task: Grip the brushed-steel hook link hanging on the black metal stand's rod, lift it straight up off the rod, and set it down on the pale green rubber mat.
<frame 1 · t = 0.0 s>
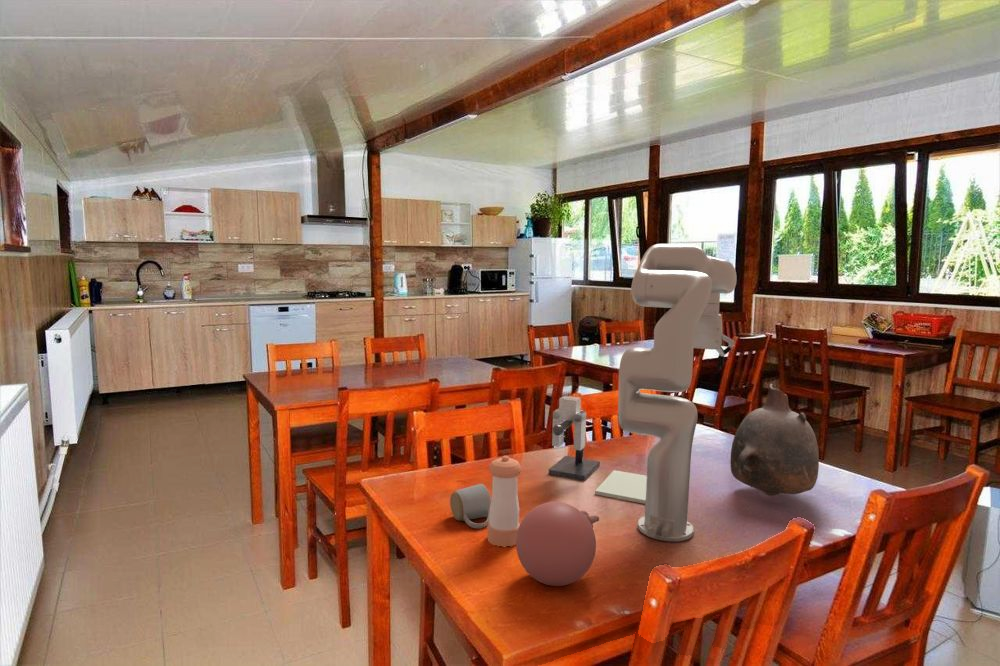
hand: (701, 367, 179), 31 cm above the table, tool pointing down, fingers open, 9 cm apart
ceramic mug: (473, 520, 147), on the table
salt shaker: (503, 540, 137), on the table
jug: (770, 496, 165), on the table
balloon: (563, 577, 121), on the table
hook link: (568, 446, 175), point 9 cm above the table, touching stand
mat: (636, 489, 168), on the table
stand: (572, 472, 180), on the table
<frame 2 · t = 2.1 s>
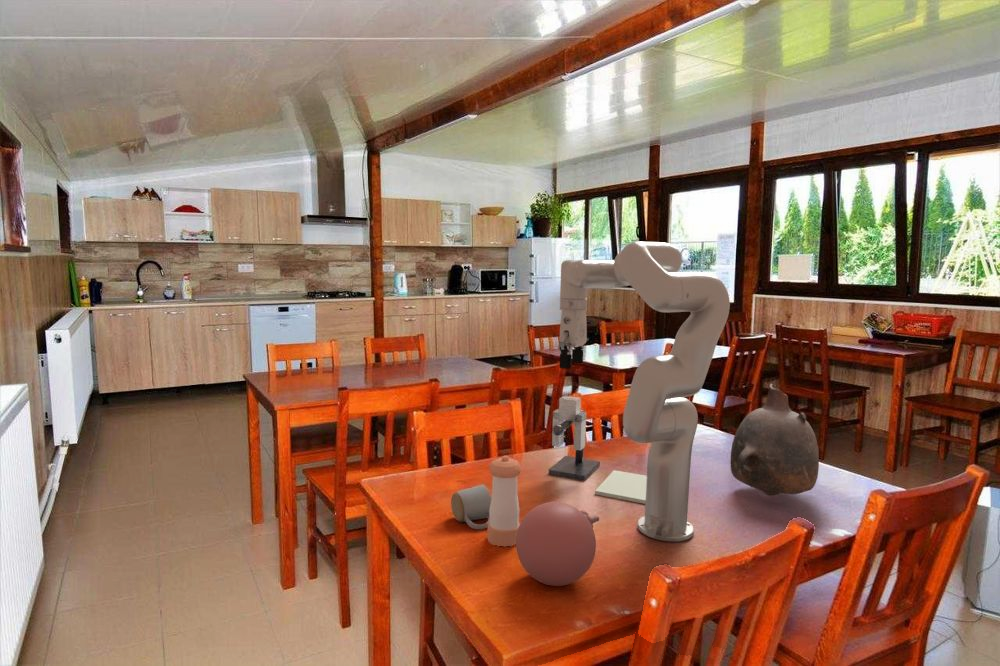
hand: (571, 365, 172), 32 cm above the table, tool pointing down, fingers open, 9 cm apart
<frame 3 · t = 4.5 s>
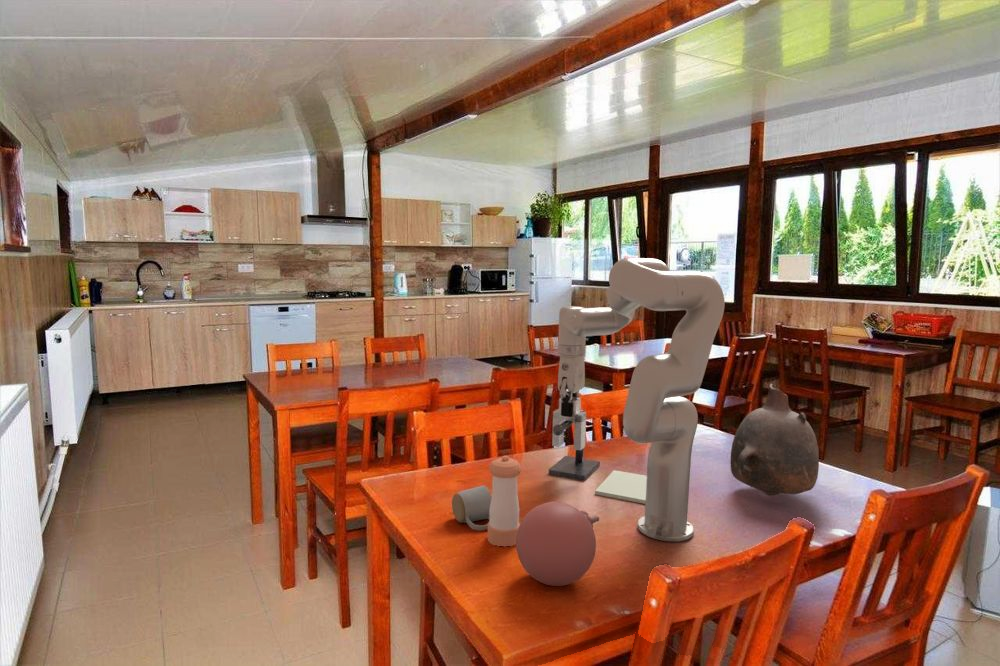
hand: (569, 413, 174), 19 cm above the table, tool pointing down, fingers closed on hook link, 4 cm apart
hook link: (568, 446, 175), point 9 cm above the table, touching gripper, stand
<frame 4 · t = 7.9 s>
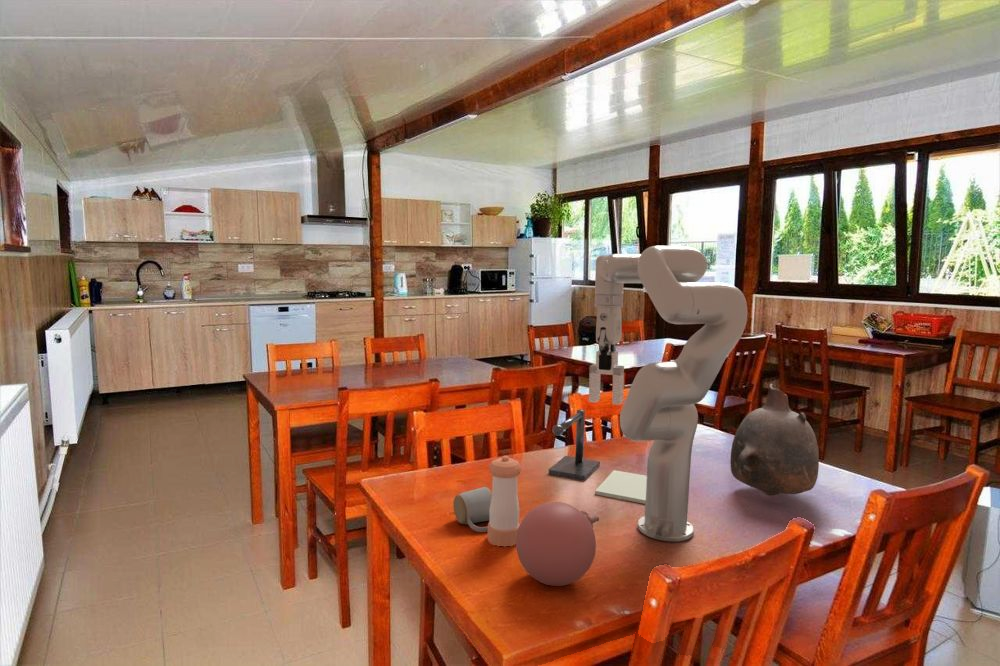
hand: (607, 367, 168), 33 cm above the table, tool pointing down, fingers closed on hook link, 4 cm apart
hook link: (605, 401, 169), point 23 cm above the table, touching gripper
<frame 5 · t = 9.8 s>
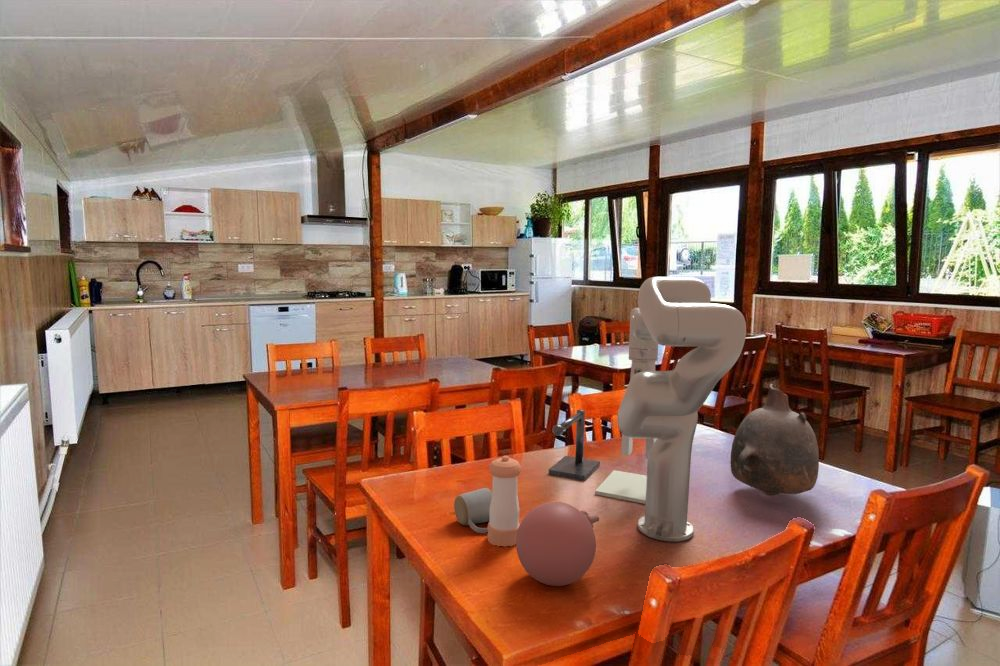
hand: (640, 420, 165), 19 cm above the table, tool pointing down, fingers closed on hook link, 4 cm apart
hook link: (638, 454, 166), point 10 cm above the table, touching gripper
when the fingers open (12 cm above the table, at t = 11.6 s): hook link drops 2 cm, resting on mat.
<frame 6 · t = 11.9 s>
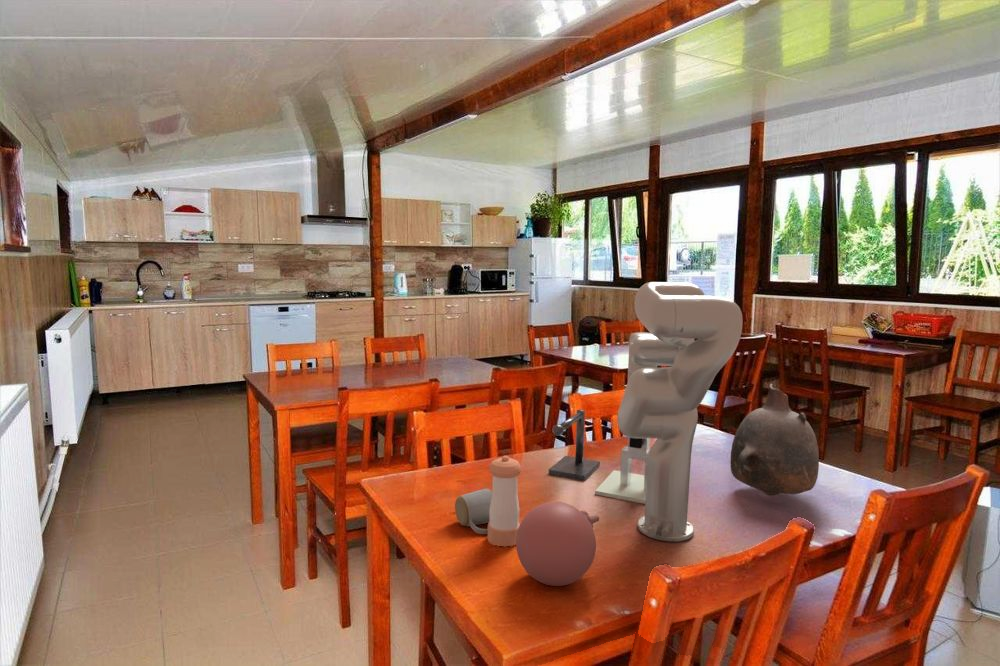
hand: (639, 443, 166), 13 cm above the table, tool pointing down, fingers open, 7 cm apart
hook link: (637, 485, 167), point 1 cm above the table, touching mat
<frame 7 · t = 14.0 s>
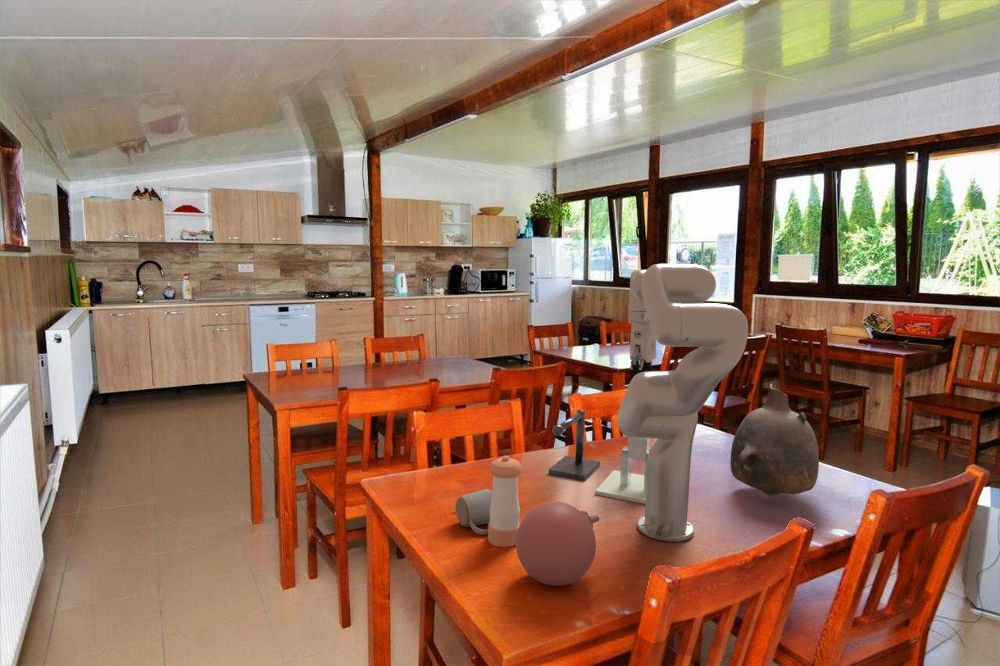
hand: (640, 382, 163), 30 cm above the table, tool pointing down, fingers open, 9 cm apart
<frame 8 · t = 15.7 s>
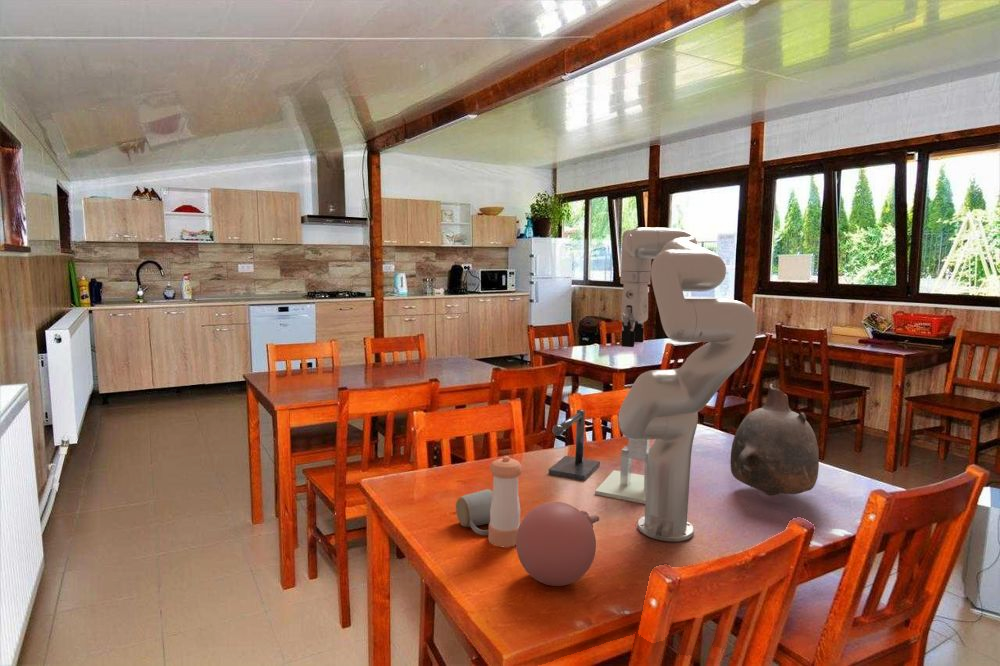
hand: (632, 344, 160), 40 cm above the table, tool pointing down, fingers open, 9 cm apart
at the end: hook link inside the target area on the mat (0.1 cm from its centre), point 1.0 cm above the mat's base; hook link touching mat; the gripper is holding nothing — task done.
